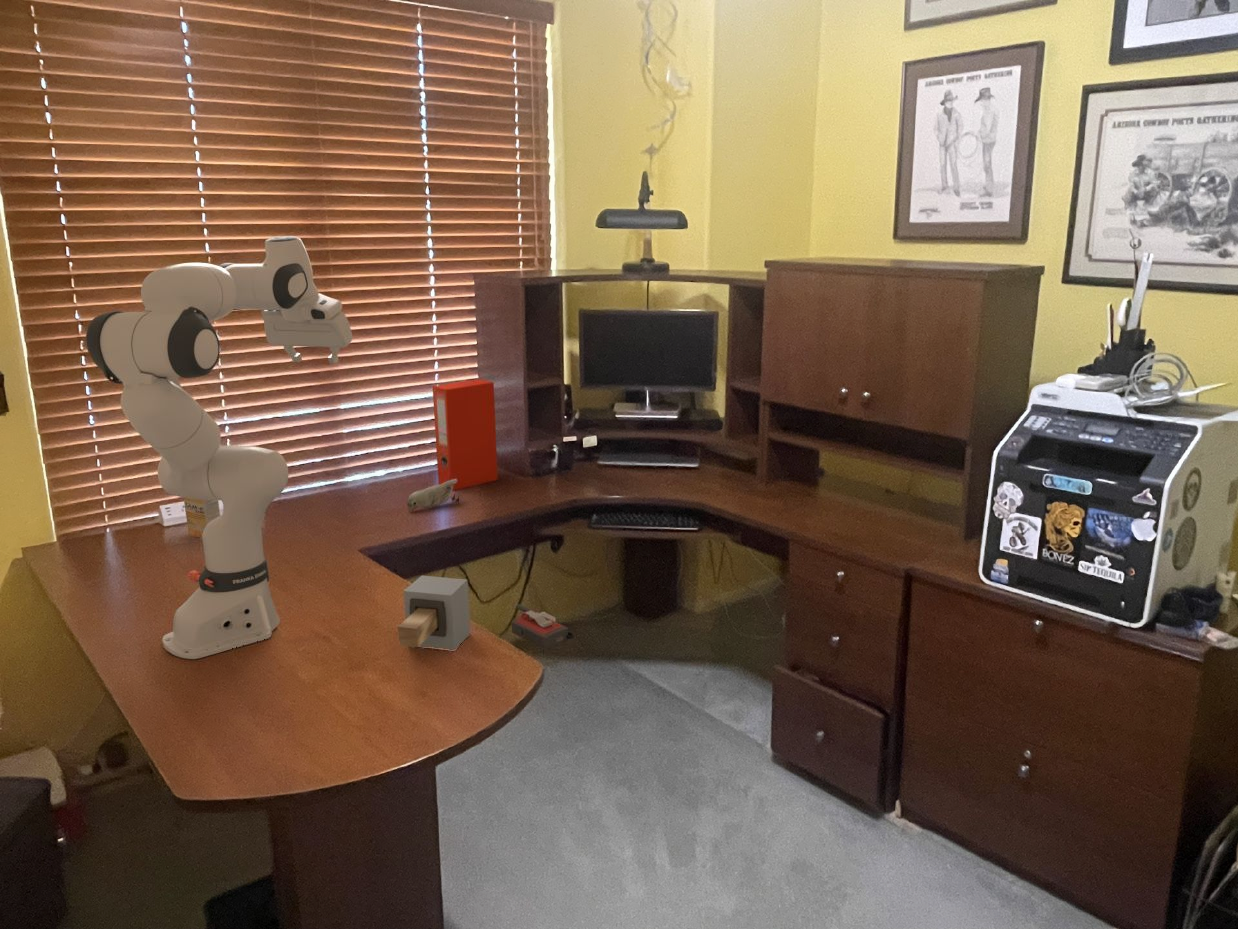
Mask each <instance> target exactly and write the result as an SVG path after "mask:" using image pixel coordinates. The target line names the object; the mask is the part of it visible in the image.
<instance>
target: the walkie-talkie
mask: <svg viewBox="0 0 1238 929" xmlns="http://www.w3.org/2000/svg"><path fill="white" fill-rule="evenodd" d="M515 608H516V609H517V610H519V611H521V612H522V613H521V616H518V617H515V618H513V619H512V621H511V633H512V634H515V635H517V636H518V637H520V638H521V639H524V640H526V641H529V642H531V643H532V644H534V645H536V646H538V647H540V648H542V649H544V650H547V649H548V650H549V649H550V648H551V649H552V648H554V647H556V646H559V645H560V644H561V645H562V643H566V642H567V641H569V640H572V639H574V638H575V636H574V635H575V634H574V633H573V632H571V631H569V627H567V626H565V625H563V624H560V623H558V622H557V620H556V617H555V616H553V615H551V614H549V613H547V612H546V611H542V612H537V611H534V610H532V609H530V608H528V607H526V606H523V605H522V604H520V603H519V604H518V603H517V604H516V605H515Z"/></svg>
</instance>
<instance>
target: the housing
mask: <svg viewBox="0 0 1238 929" xmlns="http://www.w3.org/2000/svg"><path fill="white" fill-rule="evenodd" d="M468 582H469V581H468V579H465V578H463V579H462V578H451V577H442V576H433V575H420V576H419V577H418V578H417V579H416V580H414V581H413V582H412V583H411V584H410V585H409V586H408V587H406V588H405V589H404V590H403V598H404V599H403V600H404V602H403V603H404V612H405V614H404V615H405V620H406V619H407V618H408V617H409V616H410V615H411V614H412V613H413V612H414V611H415V610H417V609H418V608H419V607H430V608H438V620H439V627H438V628H437V629H436V630H435V631H434V632H433V633H432V634H431V635H430V636H429V637H428V638H427V639H426V640H425V641H424V642H423V643H422V644H421V645H420V647H434V648H443V649H449V650H455V649H456V648H457V647H458V646H459V645H460V643H462V641H464V639H466V638H467V636H469V637H470V635H471V634H472V633H471V620H470V619H471V618H470V615H471V614H470V600H469V586H468ZM469 634H470V635H469ZM466 640H467V639H466ZM464 642H465V641H464ZM462 644H463V643H462ZM460 646H461V645H460Z"/></svg>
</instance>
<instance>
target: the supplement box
mask: <svg viewBox="0 0 1238 929" xmlns="http://www.w3.org/2000/svg"><path fill="white" fill-rule="evenodd" d="M183 504H184V510H185V517H186V518H185V519H186V524H187V532H188V535H189V536H193V537H197V538H201V539H202V534H203V531H204V529H205V527H206V526H207V524H208V523H209V522H211V521H212V520H213V519H215V518H217V517H218V516H220V515H221V512H220V504H219V500H195V499H188V498H183Z"/></svg>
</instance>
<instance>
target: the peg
mask: <svg viewBox="0 0 1238 929" xmlns="http://www.w3.org/2000/svg"><path fill="white" fill-rule="evenodd" d="M438 627H439V620H438V608H430V607H419V608H418V609H417V610H415V611H414V612H413V613H412V614H411V615H410V616H409V617H408V618H407V619H406V618H405V620H403V621H402V622H401V623H400V624H399V625H398V626H397V633H398V645H399V646H403V647H408V646H410V647H409V648H415V647H419V646H420V645H421V644H422V643H423V642H424V641H425V640H426V639H427V638H428V637H429V636H430V635H431V634H432V633H433V632H434V631H435V630H436V629H437V628H438Z"/></svg>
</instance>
